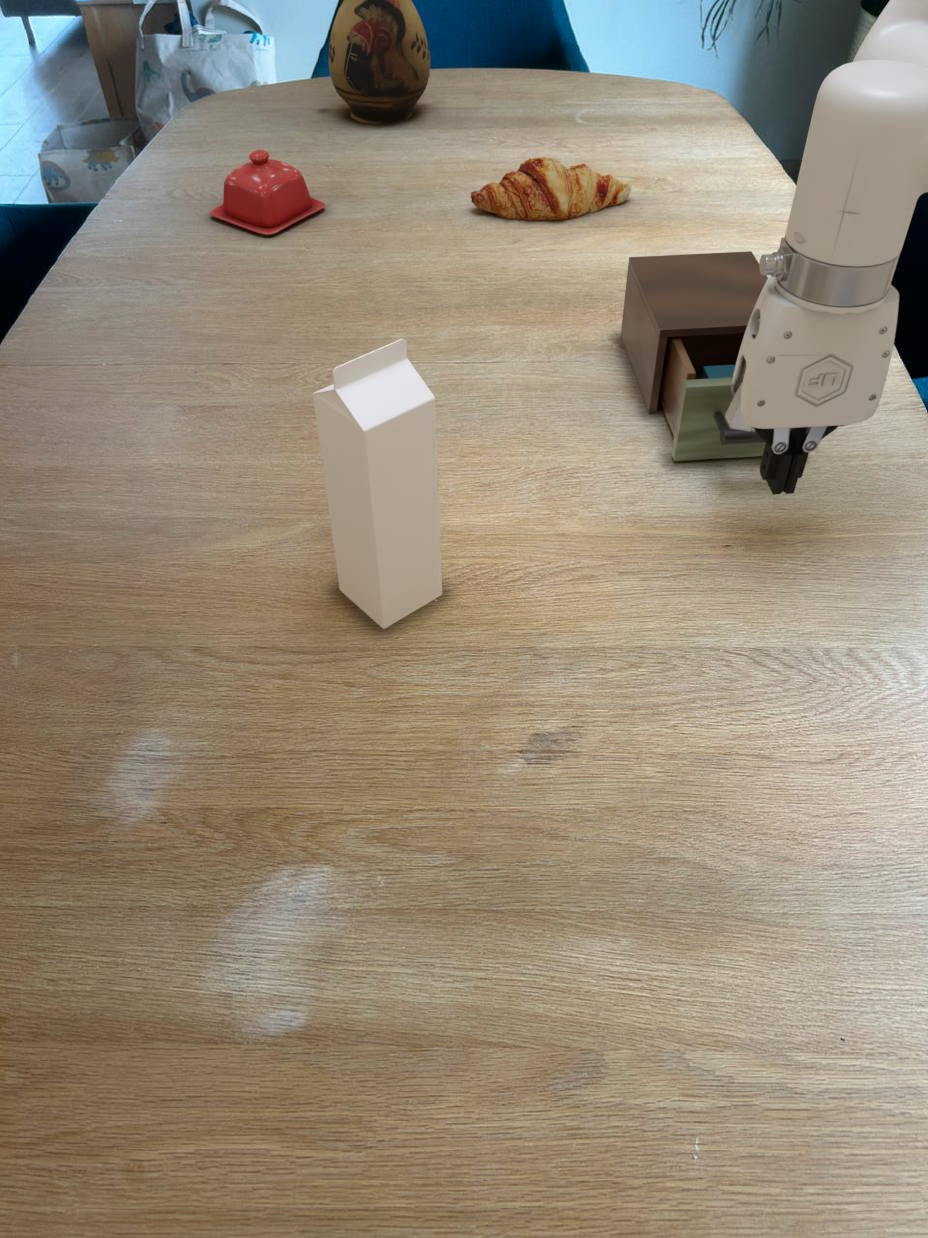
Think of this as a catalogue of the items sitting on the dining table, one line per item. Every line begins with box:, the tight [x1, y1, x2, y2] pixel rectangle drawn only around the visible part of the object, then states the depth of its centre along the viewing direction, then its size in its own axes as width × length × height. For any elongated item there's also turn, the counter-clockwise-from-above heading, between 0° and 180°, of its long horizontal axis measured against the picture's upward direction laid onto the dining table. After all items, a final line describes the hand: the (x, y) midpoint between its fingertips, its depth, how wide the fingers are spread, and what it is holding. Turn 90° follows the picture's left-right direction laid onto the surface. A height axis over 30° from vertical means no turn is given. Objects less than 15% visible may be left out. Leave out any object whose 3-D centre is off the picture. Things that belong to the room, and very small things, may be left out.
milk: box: [312, 338, 443, 630], centre depth 73 cm, size 6×6×22 cm
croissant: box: [470, 156, 632, 222], centre depth 130 cm, size 21×10×8 cm, turn 100°
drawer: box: [659, 333, 792, 462], centre depth 92 cm, size 18×11×8 cm, turn 5°
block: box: [701, 365, 735, 379], centre depth 92 cm, size 4×4×4 cm
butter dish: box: [209, 149, 326, 236], centre depth 128 cm, size 12×12×8 cm
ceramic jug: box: [328, 0, 431, 126], centre depth 146 cm, size 17×15×30 cm
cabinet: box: [620, 250, 769, 415], centre depth 100 cm, size 15×13×10 cm
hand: (777, 483), depth 81 cm, fingers closed
